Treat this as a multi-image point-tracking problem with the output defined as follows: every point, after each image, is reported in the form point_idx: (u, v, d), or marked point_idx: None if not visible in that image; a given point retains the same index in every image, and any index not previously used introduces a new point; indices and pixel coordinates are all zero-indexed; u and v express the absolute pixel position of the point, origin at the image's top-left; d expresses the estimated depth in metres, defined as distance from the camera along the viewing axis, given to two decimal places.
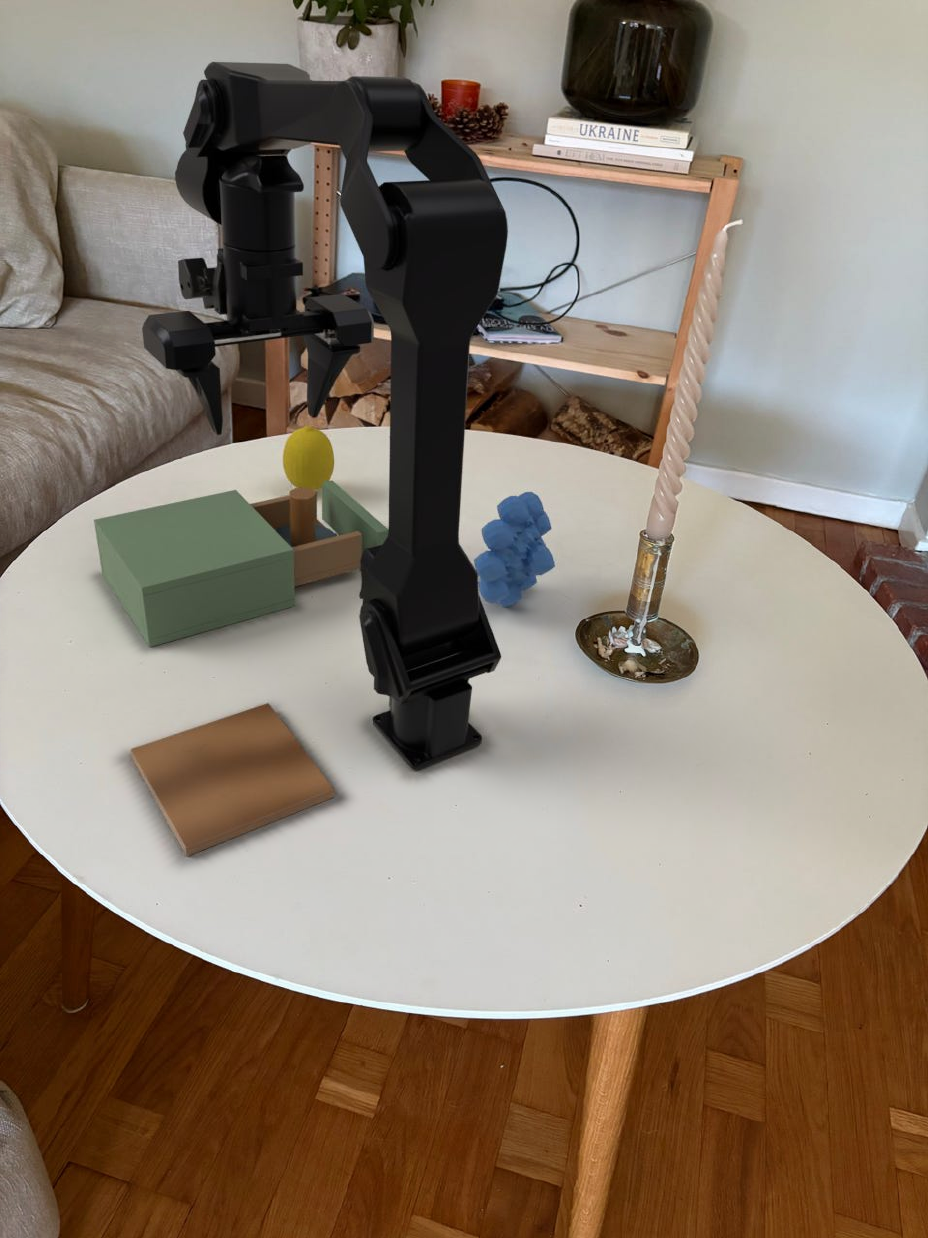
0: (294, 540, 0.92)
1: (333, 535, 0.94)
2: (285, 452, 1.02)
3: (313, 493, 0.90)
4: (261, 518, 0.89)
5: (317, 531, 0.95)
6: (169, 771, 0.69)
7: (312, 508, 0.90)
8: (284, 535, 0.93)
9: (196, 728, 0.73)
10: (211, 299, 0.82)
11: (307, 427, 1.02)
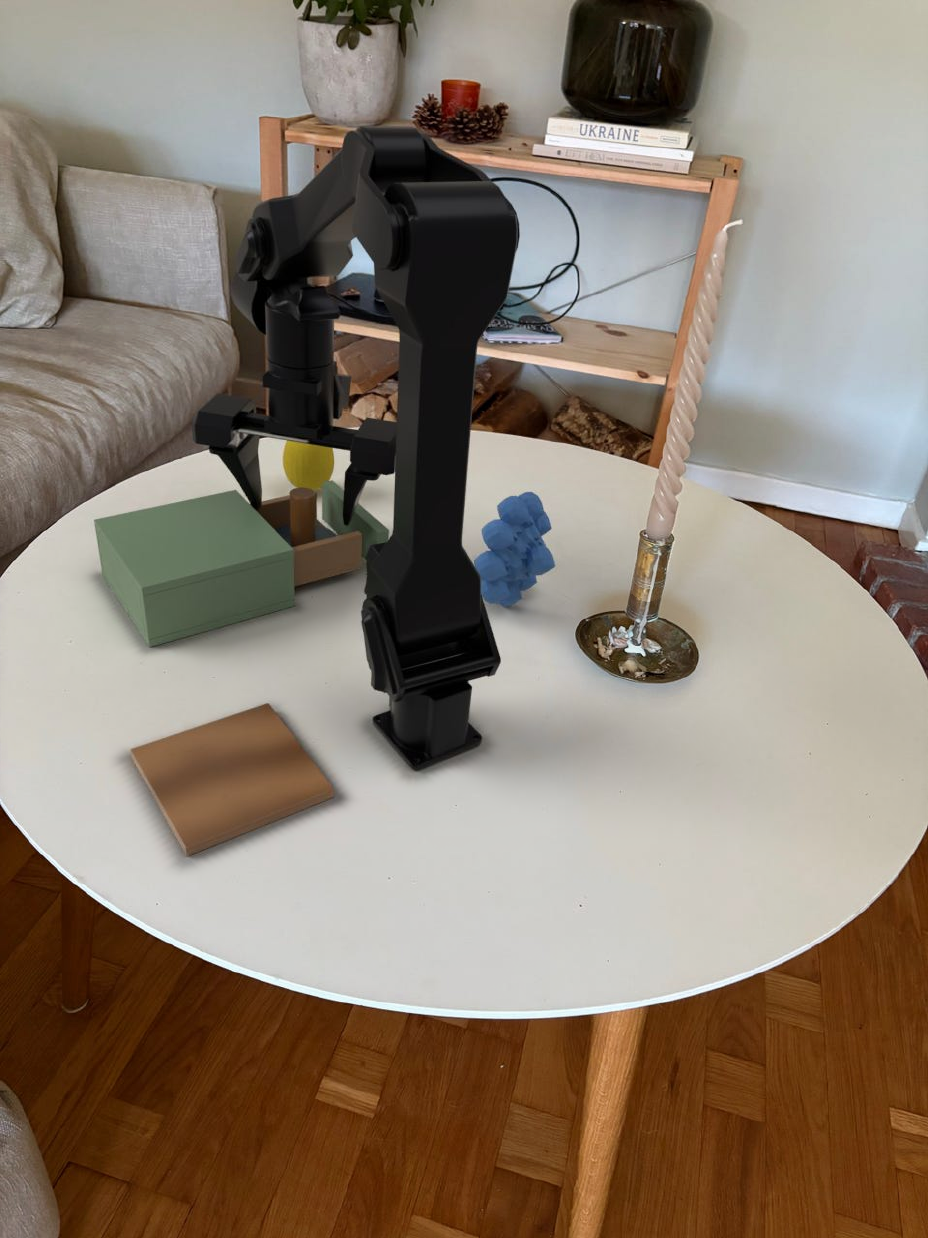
0: (294, 540, 0.92)
1: (333, 535, 0.94)
2: (285, 452, 1.02)
3: (313, 493, 0.90)
4: (261, 518, 0.89)
5: (317, 531, 0.95)
6: (169, 771, 0.69)
7: (312, 508, 0.90)
8: (284, 535, 0.93)
9: (196, 728, 0.73)
10: None
11: None
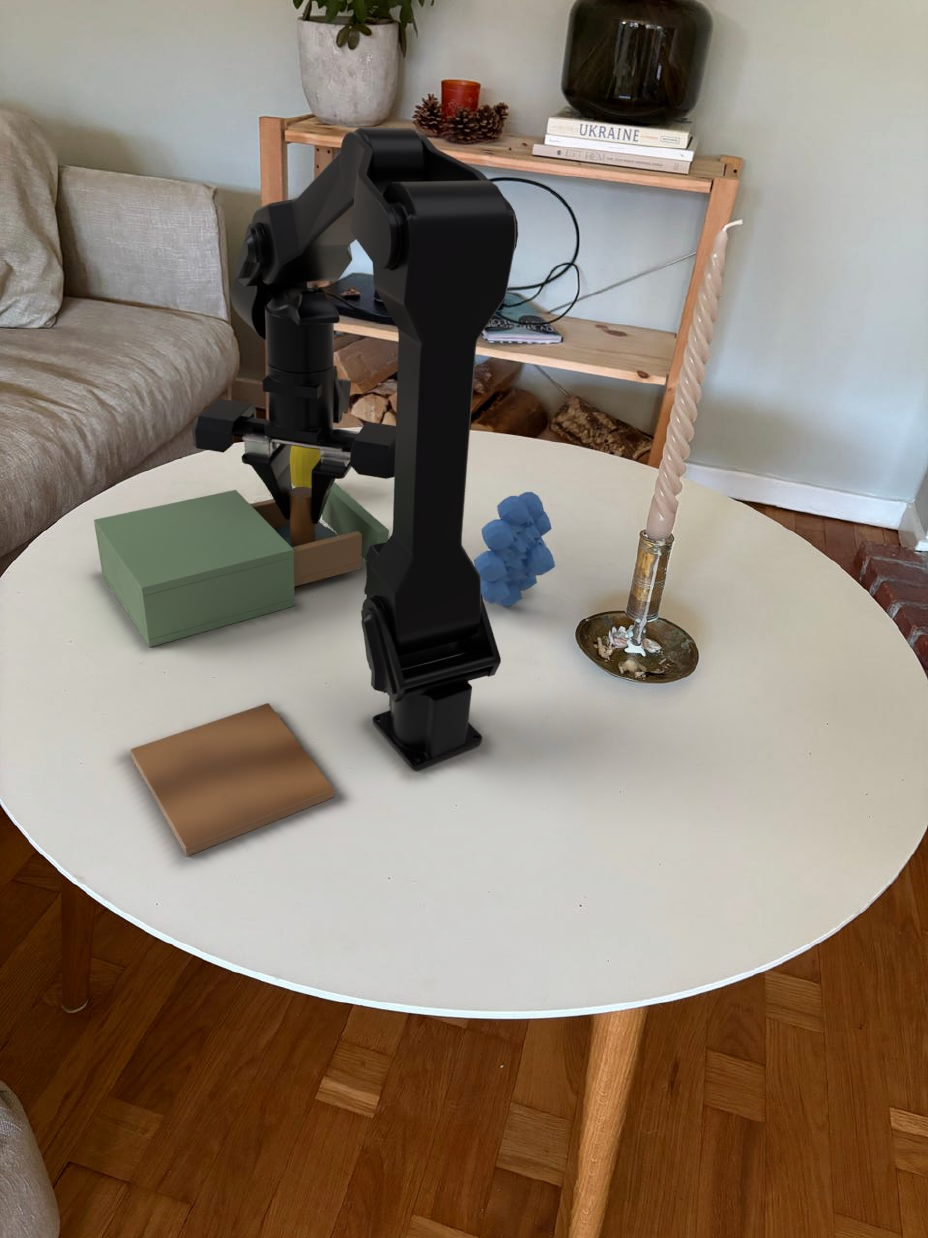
0: (294, 539, 0.92)
1: (333, 534, 0.94)
2: None
3: None
4: (261, 518, 0.89)
5: (317, 530, 0.95)
6: (169, 771, 0.69)
7: None
8: (284, 534, 0.93)
9: (196, 728, 0.73)
10: None
11: None
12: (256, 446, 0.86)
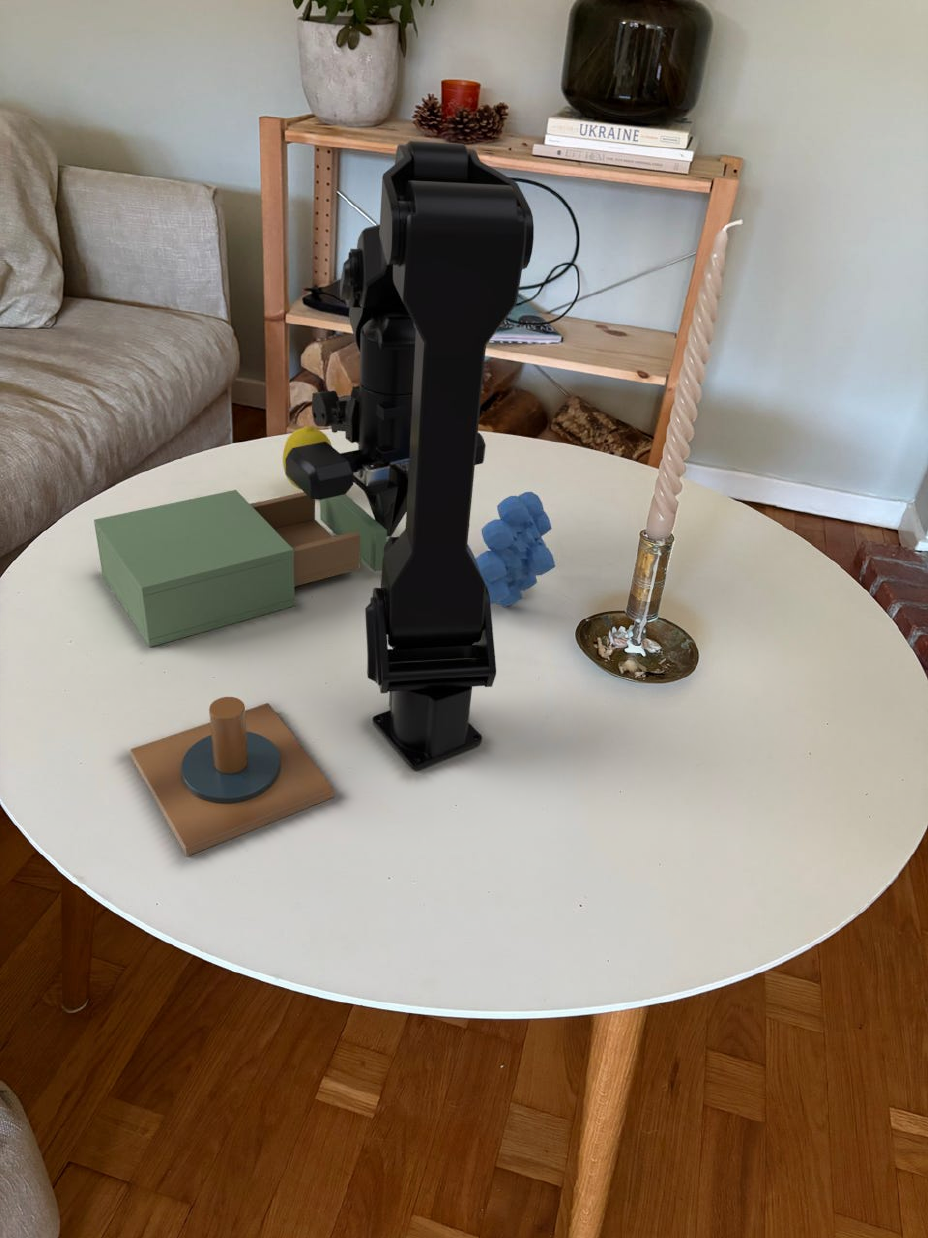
0: (218, 765, 0.68)
1: (273, 751, 0.70)
2: (285, 452, 1.02)
3: (242, 707, 0.66)
4: (261, 518, 0.89)
5: (252, 744, 0.71)
6: (169, 771, 0.69)
7: (240, 727, 0.66)
8: (206, 753, 0.70)
9: (196, 728, 0.73)
10: (341, 426, 0.91)
11: (307, 427, 1.02)
12: (378, 474, 0.87)
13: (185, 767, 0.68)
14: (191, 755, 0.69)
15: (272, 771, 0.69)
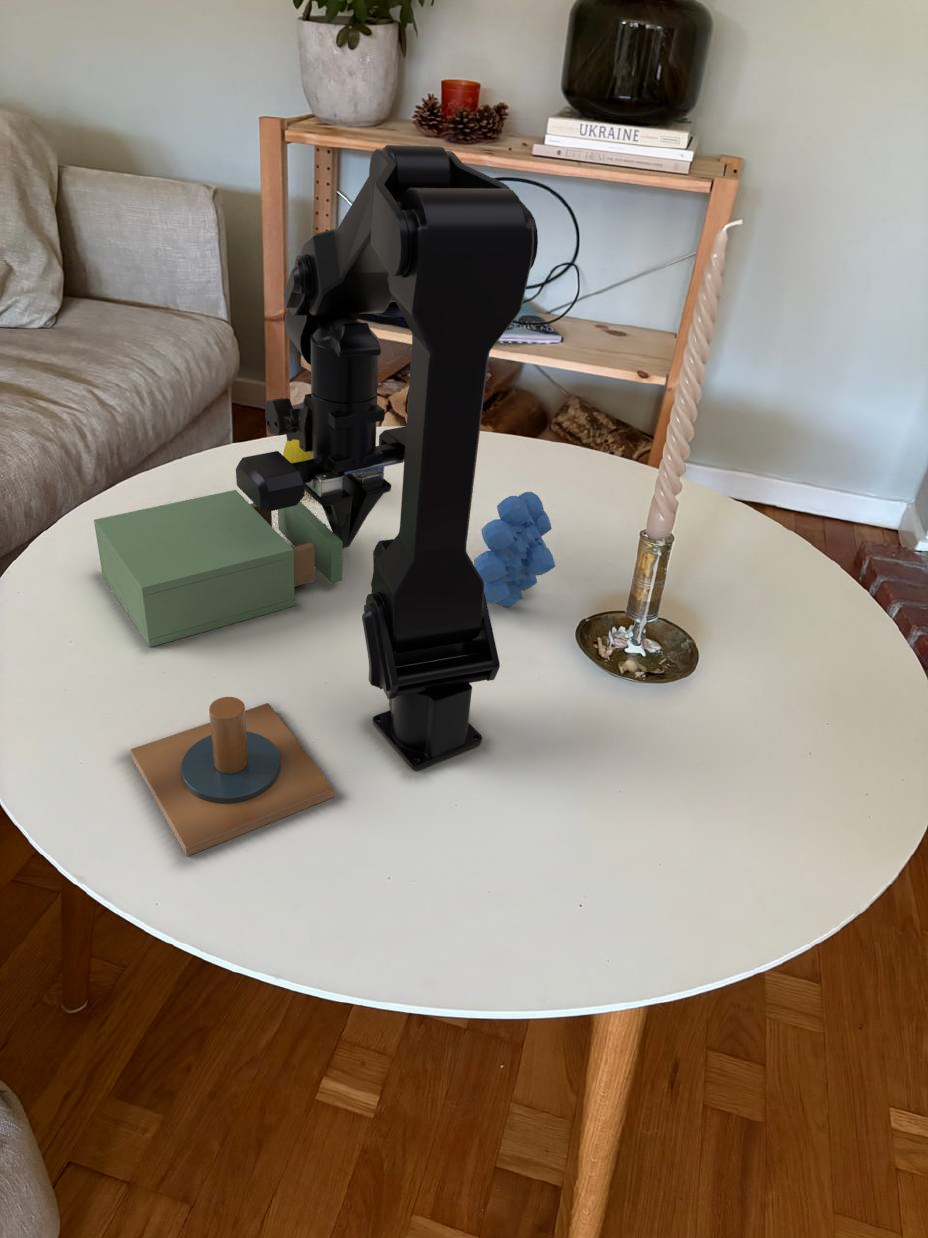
0: (218, 765, 0.68)
1: (273, 751, 0.70)
2: (285, 452, 1.02)
3: (242, 707, 0.66)
4: (261, 518, 0.89)
5: (252, 744, 0.71)
6: (169, 771, 0.69)
7: (240, 727, 0.66)
8: (206, 753, 0.70)
9: (196, 728, 0.73)
10: (295, 435, 0.88)
11: None
12: (332, 485, 0.85)
13: (185, 767, 0.68)
14: (191, 755, 0.69)
15: (272, 771, 0.69)
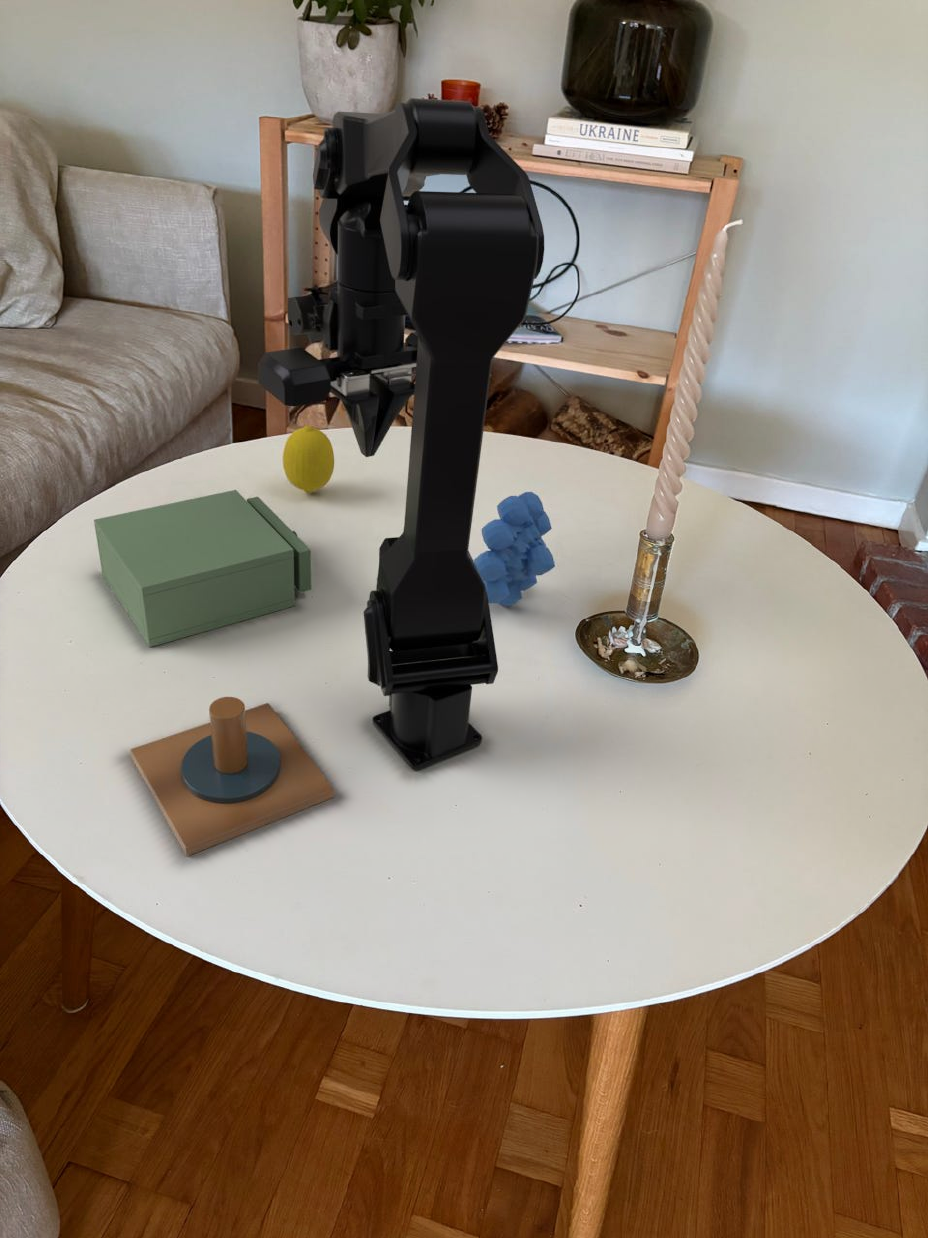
0: (218, 765, 0.68)
1: (273, 751, 0.70)
2: (285, 452, 1.02)
3: (242, 707, 0.66)
4: (261, 518, 0.89)
5: (252, 744, 0.71)
6: (169, 771, 0.69)
7: (240, 727, 0.66)
8: (206, 753, 0.70)
9: (196, 728, 0.73)
10: (318, 335, 0.85)
11: (307, 427, 1.02)
12: (358, 383, 0.81)
13: (185, 767, 0.68)
14: (191, 755, 0.69)
15: (272, 771, 0.69)
